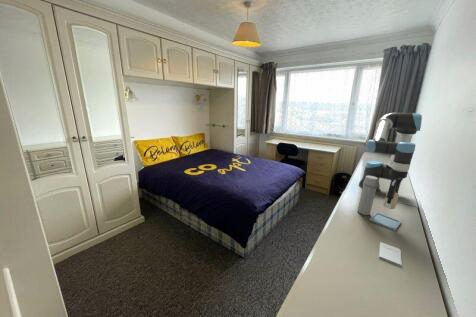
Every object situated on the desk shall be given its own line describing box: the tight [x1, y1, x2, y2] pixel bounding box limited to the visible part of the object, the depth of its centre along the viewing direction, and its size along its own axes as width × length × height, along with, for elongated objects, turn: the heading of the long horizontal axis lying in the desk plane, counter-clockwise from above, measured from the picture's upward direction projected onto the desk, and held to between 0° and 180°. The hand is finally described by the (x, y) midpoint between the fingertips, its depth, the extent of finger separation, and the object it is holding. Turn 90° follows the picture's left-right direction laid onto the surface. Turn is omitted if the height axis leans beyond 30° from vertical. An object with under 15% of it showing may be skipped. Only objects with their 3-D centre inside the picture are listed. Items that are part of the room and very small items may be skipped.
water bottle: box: [357, 176, 378, 216], centre depth 122 cm, size 9×8×25 cm
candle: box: [383, 191, 400, 210], centre depth 113 cm, size 6×6×10 cm
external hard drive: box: [378, 241, 403, 268], centre depth 91 cm, size 2×8×12 cm
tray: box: [368, 211, 402, 232], centre depth 117 cm, size 13×13×1 cm
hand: (389, 206), depth 114 cm, fingers closed on candle, 5 cm apart
